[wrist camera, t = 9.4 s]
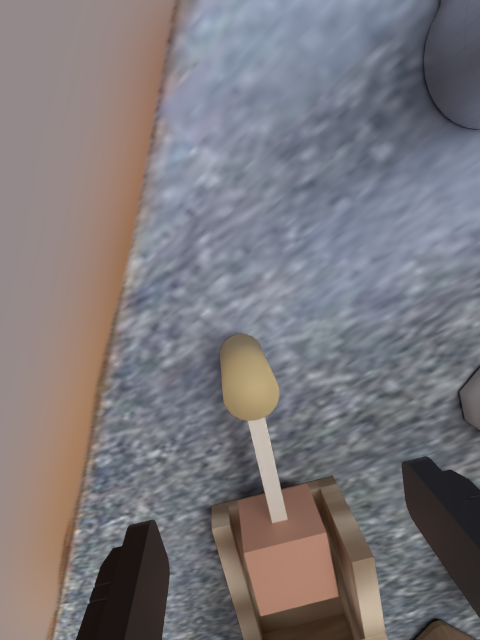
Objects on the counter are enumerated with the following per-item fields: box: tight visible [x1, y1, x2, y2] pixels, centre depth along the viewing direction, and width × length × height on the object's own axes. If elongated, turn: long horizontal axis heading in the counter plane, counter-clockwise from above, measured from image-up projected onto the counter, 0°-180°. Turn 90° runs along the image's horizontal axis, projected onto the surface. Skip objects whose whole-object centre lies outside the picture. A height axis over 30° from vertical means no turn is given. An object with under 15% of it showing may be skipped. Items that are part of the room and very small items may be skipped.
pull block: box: [220, 334, 339, 616], centre depth 25 cm, size 20×6×7 cm, turn 12°
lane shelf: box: [212, 476, 388, 640], centre depth 28 cm, size 16×11×10 cm
